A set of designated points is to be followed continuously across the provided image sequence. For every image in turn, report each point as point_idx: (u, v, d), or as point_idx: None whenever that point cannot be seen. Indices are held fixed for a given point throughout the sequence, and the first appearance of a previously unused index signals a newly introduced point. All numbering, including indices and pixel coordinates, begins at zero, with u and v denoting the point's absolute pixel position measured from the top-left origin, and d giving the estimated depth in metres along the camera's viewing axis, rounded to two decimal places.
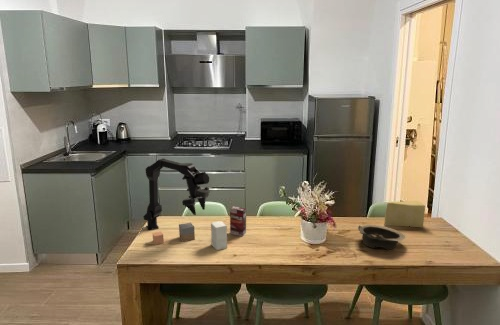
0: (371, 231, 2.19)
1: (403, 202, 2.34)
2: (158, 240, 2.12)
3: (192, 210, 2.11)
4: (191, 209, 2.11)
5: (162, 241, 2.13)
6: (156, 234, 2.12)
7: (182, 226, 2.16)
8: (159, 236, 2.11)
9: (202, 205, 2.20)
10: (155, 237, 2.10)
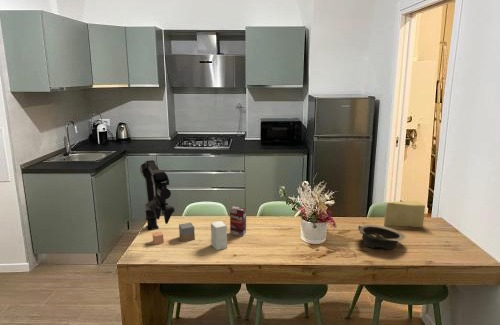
0: (371, 231, 2.19)
1: (403, 202, 2.34)
2: (158, 240, 2.12)
3: None
4: None
5: (162, 241, 2.13)
6: (156, 234, 2.12)
7: (182, 226, 2.16)
8: (159, 236, 2.11)
9: None
10: (155, 237, 2.10)
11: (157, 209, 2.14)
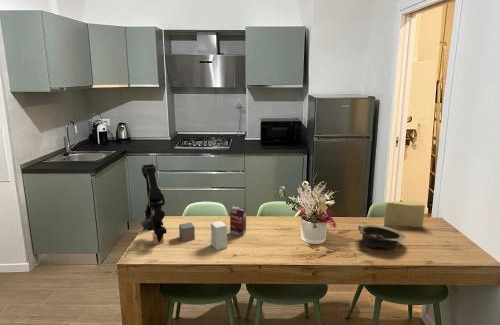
0: (371, 231, 2.19)
1: (403, 202, 2.34)
2: None
3: None
4: None
5: (162, 241, 2.13)
6: None
7: (182, 226, 2.16)
8: None
9: None
10: (155, 237, 2.10)
11: None
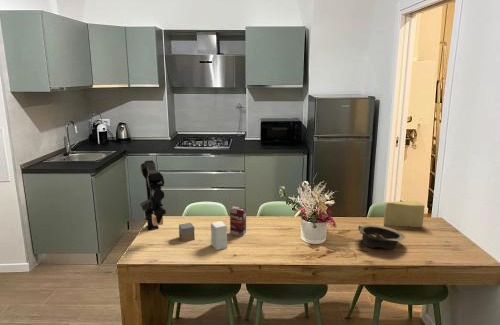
0: (371, 231, 2.19)
1: (402, 202, 2.34)
2: None
3: None
4: None
5: (161, 222, 2.10)
6: None
7: (182, 226, 2.16)
8: None
9: None
10: (154, 218, 2.08)
11: None
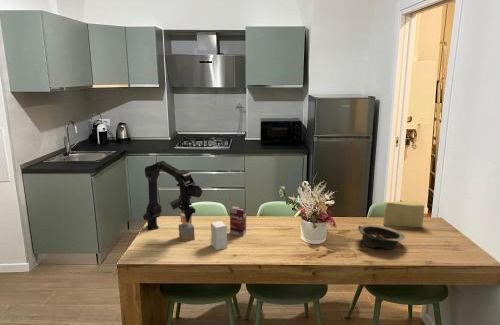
0: (371, 231, 2.19)
1: (402, 202, 2.34)
2: None
3: None
4: None
5: (190, 221, 2.15)
6: (184, 214, 2.15)
7: (182, 226, 2.16)
8: None
9: None
10: (183, 217, 2.13)
11: None
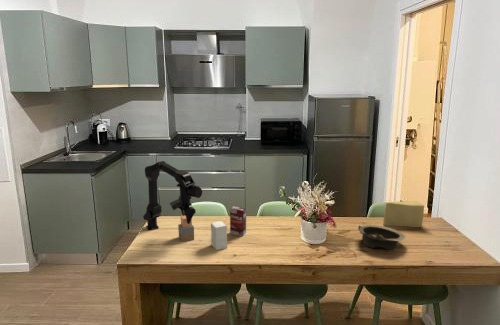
0: (371, 231, 2.19)
1: (402, 202, 2.34)
2: (186, 223, 2.15)
3: None
4: None
5: (190, 224, 2.16)
6: (184, 217, 2.16)
7: (181, 226, 2.16)
8: None
9: None
10: (183, 220, 2.14)
11: (183, 208, 2.20)
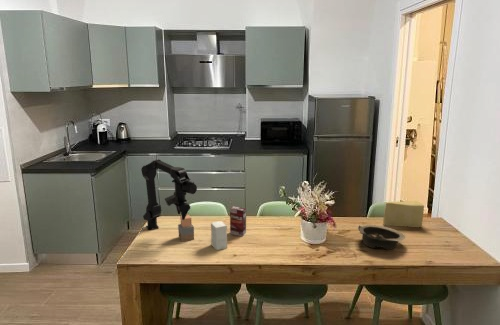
0: (371, 231, 2.19)
1: (402, 202, 2.34)
2: (186, 223, 2.15)
3: None
4: None
5: (190, 224, 2.16)
6: None
7: (181, 226, 2.16)
8: (187, 219, 2.15)
9: None
10: (183, 220, 2.14)
11: (178, 204, 2.20)
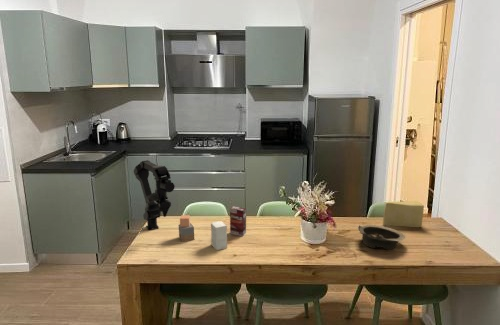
0: (371, 231, 2.19)
1: (402, 202, 2.34)
2: (183, 223, 2.15)
3: None
4: None
5: (187, 224, 2.15)
6: (183, 217, 2.16)
7: None
8: (185, 219, 2.14)
9: None
10: (180, 219, 2.14)
11: None
